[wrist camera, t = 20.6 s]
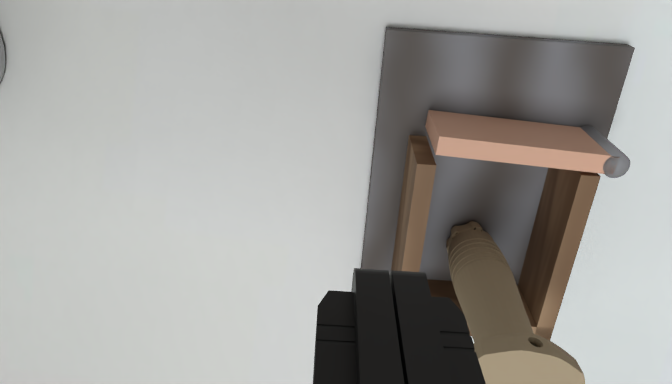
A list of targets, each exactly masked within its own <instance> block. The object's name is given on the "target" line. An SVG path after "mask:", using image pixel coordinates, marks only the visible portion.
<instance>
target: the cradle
mask: <svg viewBox="0 0 672 384" xmlns="http://www.w3.org/2000/svg"><path fill="white" fill-rule="evenodd" d="M634 49H635V48H634V47H632V46H630V45H627V44H613V43H599V42H586V41H572V40H558V39H544V38H530V37H516V36H502V35H488V34H474V33H460V32H446V31H432V30H418V29H404V28H390V27H386V32H385V42H384V51H383V61H382V70H381V80H380V90H379V99H378V109H377V119H376V128H375V138H374V147H373V157H372V167H371V176H370V186H369V195H368V205H367V215H366V224H365V234H364V243H363V253H362V263H361V269H375V270H388V271H389V273H390V271H391V270H394V271H410V272H425V274H426V276H427V281H428V285H429V289H430V293H431V297H447V298H450V299H451V300H452V301H453V302H454V303H455V305H456V306H457V307H458V308H459V309H460V310H461V311H462V308H461V306H460V303H459V301H458V298H457V296H456V293H455V290H454V286H453V283H452V279H451V275H450V269H449V261H448V253H447V247H446V241H447V239H449V238H450V236H451V229H452V228H453V227H454V226H461V225H465V224H467V223H469V222H470V221H474V222H477V223H479V224H480V226H481V227H482V230H483V231H485V232H487V233H489V235H490V236H491V237H492V239H493V240H494V242H495V243H496V244H497V246H498V247H499V249H500V250H501V252H502V253H503V255H504V257H505V259H506V261H507V263H508V265H509V267H510V269H511V271H512V274H513V276H514V279H515V282H516V285H517V288H518V291H519V293H520V296H521V299H522V302H523V305H524V308H525V311H526V314H527V316H528V319H529V322H530V324H531V327H532V330H533V333H534V334H536V335H539V336H541V337H543V338H545V339H547V340H549V341H550V338H551V335H552V332H553V328H554V325H555V322H556V319H557V316H558V312H559V309H560V306H561V303H562V299H563V296H564V293H565V290H566V286H567V283H568V280H569V277H570V274H571V270H572V267H573V264H574V261H575V257H576V254H577V251H578V248H579V244H580V241H581V238H582V235H583V232H584V228H585V225H586V222H587V219H588V215H589V212H590V209H591V206H592V202H593V199H594V196H595V193H596V190H597V186H598V183H599V180H600V176H599V175H598V173H592V172H583V171H574V170H566V169H557V168H548V167H539V166H530V165H521V164H512V163H504V162H495V161H486V160H477V159H468V158H459V157H450V156H441V155H435V152H434V149H433V146H432V144H431V141H430V138H429V135H428V133H427V130H426V127H425V125H426V120H427V115H428V110H434V111H443V112H452V113H460V114H469V115H478V116H486V117H495V118H504V119H512V120H521V121H529V122H538V123H547V124H555V125H564V126H573V127H582V126H586V125H589V126H592V127H594V128H595V129H596V130H597V131H598V132H600V133H601V134H602V135H603V136H604V137H605V138H606V139H607V137H608V134H609V131H610V127H611V124H612V121H613V117H614V114H615V111H616V108H617V104H618V101H619V98H620V95H621V91H622V88H623V85H624V81H625V78H626V75H627V72H628V68H629V65H630V62H631V58H632V55H633V52H634ZM462 312H463V311H462ZM463 314H464V313H463ZM465 319H466V318H465ZM466 322H467V321H466ZM467 325H468V323H467ZM468 328H469V326H468ZM469 331H470V329H469ZM470 336H472V334H471V331H470Z"/></svg>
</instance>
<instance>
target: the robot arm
mask: <svg viewBox="0 0 672 384" xmlns="http://www.w3.org/2000/svg"><path fill="white" fill-rule="evenodd" d="M5 61H6V60H5V50H4V44H3V41H2V38H1V34H0V82H1V79H2V77H3V75H4V69H5ZM313 384H486V383H485V380H484V376H483V373H482V370H481V367H480V364H479V360H478V357H477V354H476V352H475V348H474V344H473V341H472V338H471V336H470V331H469V328H468V325H467V322H466V319H465V315H464V314H463V312H462V311H461V310H460V309H459V308H458V307H457V306H456V305H455V303H454V302H453V301H452V300H451V299H450V298H447V297H431V293H430V289H429V285H428V281H427V276H426V274H425V272H410V271H394V270H391V271H390V273H389V271H388V270H375V269H358V268H354V272H353V281H352V292H343V291H328V292H327V294H326V295H325V297H324V298H323V299H322V301H321V302H320V304H319V305H318V312H317V327H316V342H315V357H314V374H313Z"/></svg>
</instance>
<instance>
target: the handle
mask: <svg viewBox="0 0 672 384" xmlns="http://www.w3.org/2000/svg"><path fill="white" fill-rule="evenodd" d="M446 247H447V253H448V261H449V269H450V275H451V279H452V283H453V286H454V290H455V293H456V296H457V298H458V301H459V303H460V306H461V308H462V311H463V313H464V315H465V318H466V321H467V323H468V326H469V329H470V331H471V334H472V337H473V339H474V342H475V343H474V348H475V352H476V354H477V357H478V360H479V364H480V367H481V370H482V373H483V376H484V380H485V383H486V384H585V378H584V374H583V372H582V370H581V369H580V367H579V365H578V363H577V361H576V360H575V359H574V358H573V357H572V356H571V355H569V354H568V353H567V352H566V351H564V350H563V349H562V348H560V347H559V346H557V345H556V344H554V343H552V342H551V341H549V340H547V339H545V338H543V337H541V336H539V335H536V334H534V333H533V330H532V327H531V324H530V322H529V319H528V316H527V314H526V311H525V308H524V305H523V302H522V299H521V296H520V293H519V291H518V288H517V285H516V282H515V279H514V276H513V274H512V271H511V269H510V267H509V265H508V263H507V261H506V259H505V257H504V255H503V253H502V252H501V250H500V249H499V247H498V246H497V244H496V243H495V242H494V240H493V239H492V237H491V236H490V235H489V233H487V232H485V231H483V230H482V227H481V226H480V224H479V223H477V222H474V221H470V222H469V223H467V224H465V225H461V226H454V227H453V228H452V229H451V236H450V238H449V239H447V241H446Z"/></svg>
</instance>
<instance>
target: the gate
mask: <svg viewBox="0 0 672 384" xmlns="http://www.w3.org/2000/svg"><path fill="white" fill-rule="evenodd" d="M425 127H426V130H427V133H428V135H429V138H430V141H431V144H432V146H433V149H434V152H435V155H441V156H450V157H459V158H468V159H477V160H486V161H495V162H504V163H512V164H521V165H530V166H539V167H548V168H557V169H566V170H574V171H583V172H592V173H601V174H605V175H606V176H608V177H610V178H617V177H620V176H622V175H624V174H625V173H626V172H627V171H628V169H629V167H630V160H629V158H628V157H627V156H626V155H625V154H624V153H623V152H621V151H620V150H619V149H618V148H617V147H616V146H615V145H613V144H612V143H611V142H610V141H609V140H608V139H606V138H605V137H604V136H603V135H602V134H601V133H600V132H598V131H597V130H596V129H595V128H594V127H592V126H589V125H586V126H582V127H573V126H564V125H555V124H547V123H538V122H529V121H521V120H512V119H504V118H495V117H486V116H478V115H469V114H460V113H452V112H443V111H434V110H428V115H427V120H426V125H425Z"/></svg>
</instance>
